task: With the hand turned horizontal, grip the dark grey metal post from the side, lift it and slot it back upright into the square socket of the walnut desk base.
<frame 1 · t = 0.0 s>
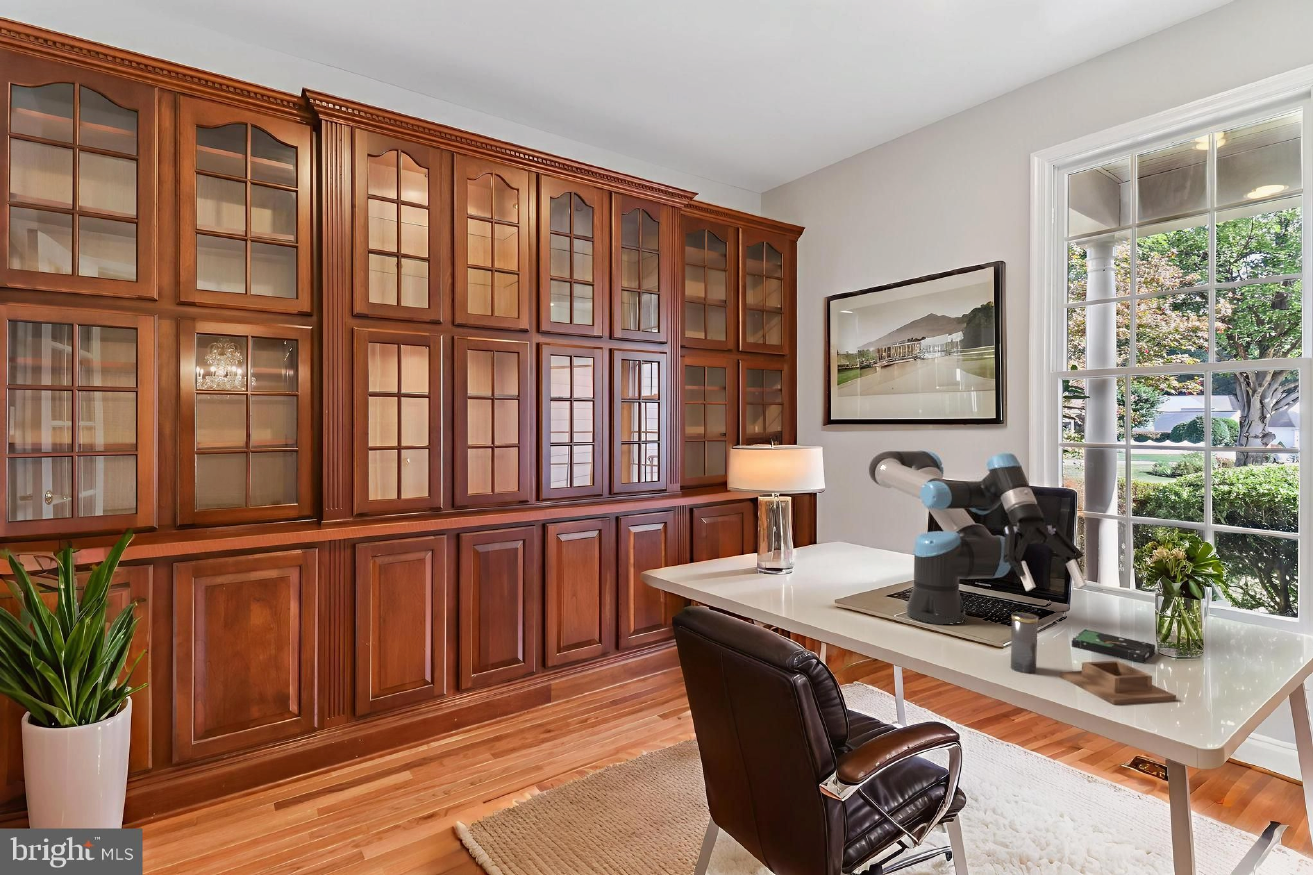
hand: (1056, 588, 160), 15 cm above the table, tool tilted 35°, fingers open, 13 cm apart
socket base: (1115, 687, 139), on the table
grey post: (1023, 669, 149), on the table
disk drive: (1112, 652, 161), on the table
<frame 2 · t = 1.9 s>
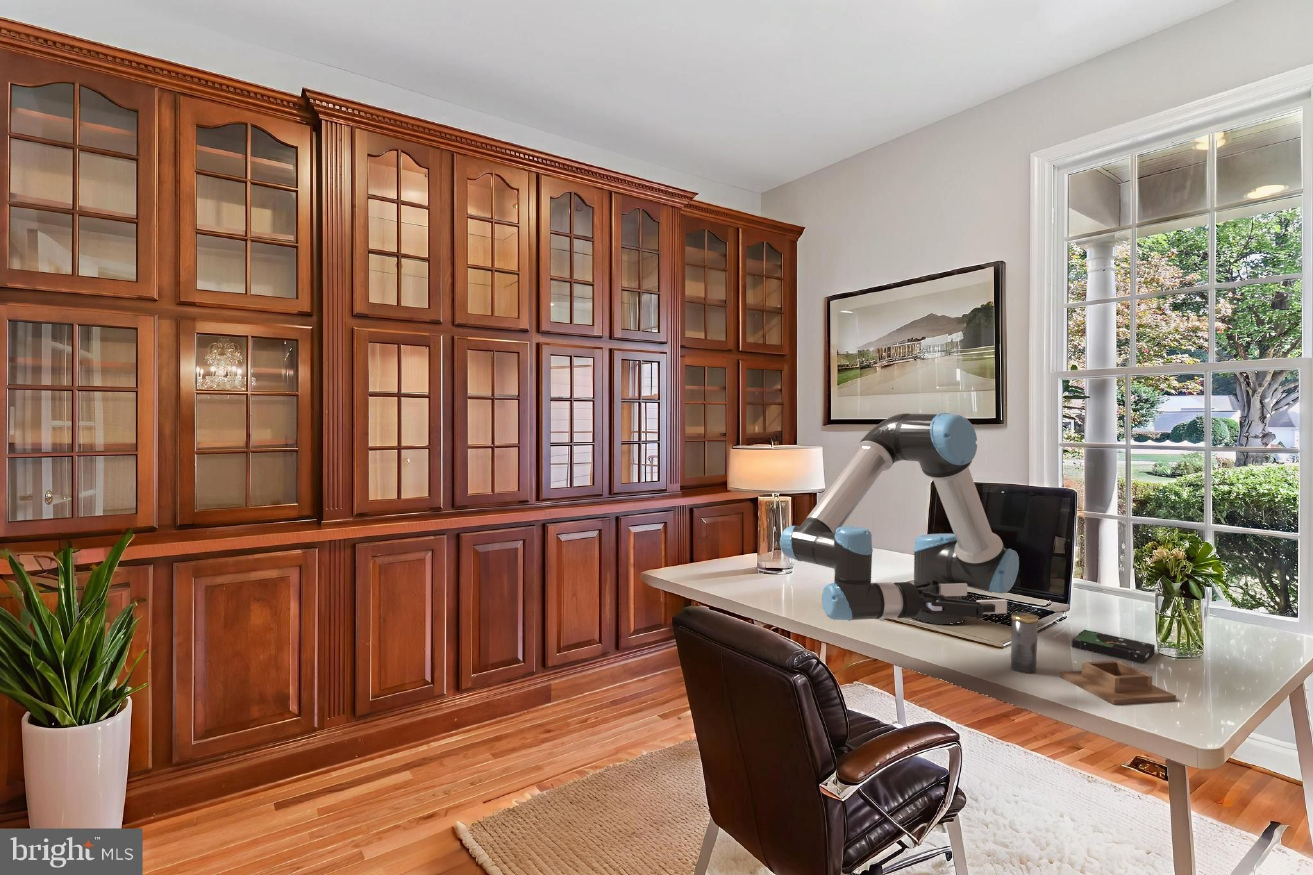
hand: (985, 597, 147), 17 cm above the table, tool horizontal, fingers open, 13 cm apart
nothing on the table moved.
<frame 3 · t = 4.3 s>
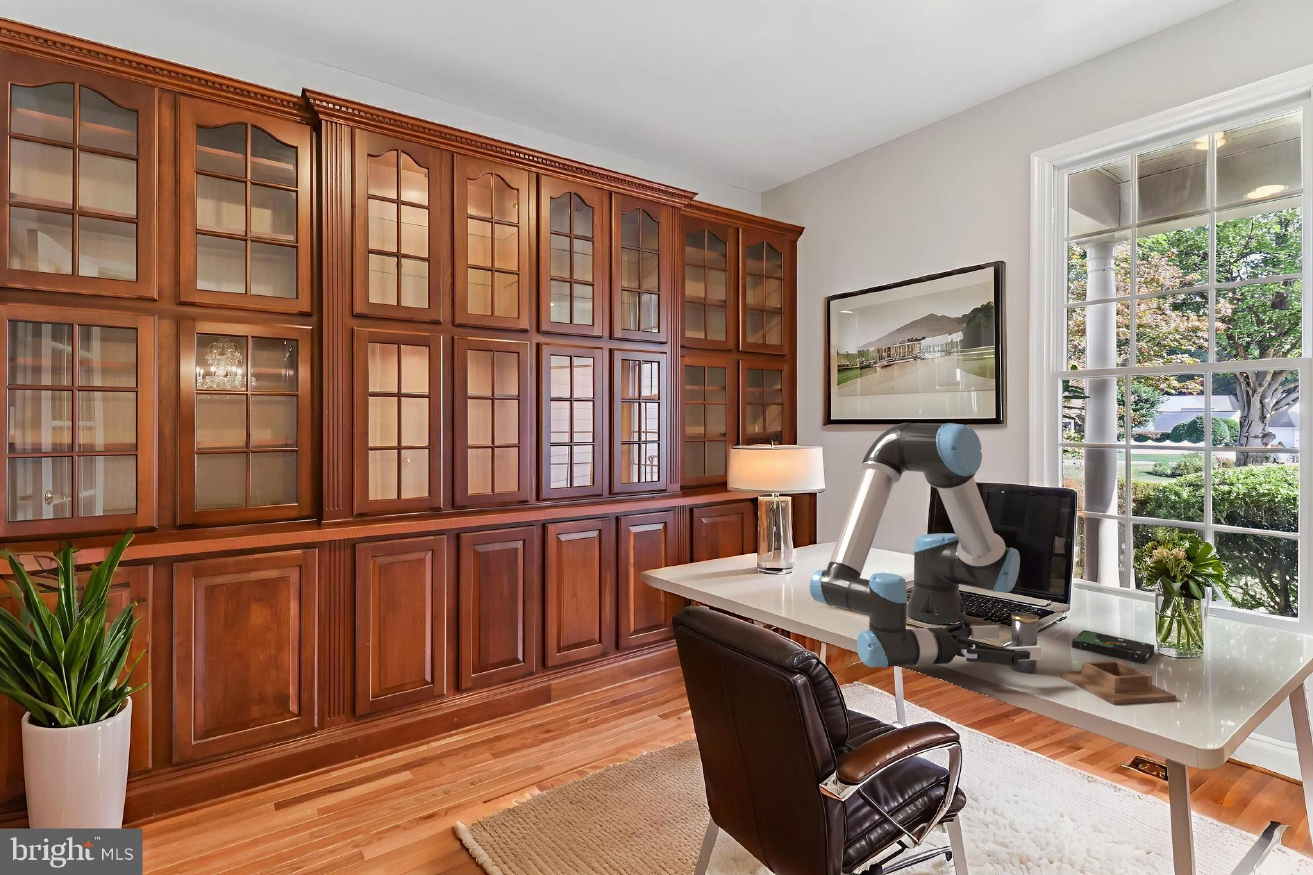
hand: (1018, 641, 148), 6 cm above the table, tool horizontal, fingers open, 13 cm apart
nothing on the table moved.
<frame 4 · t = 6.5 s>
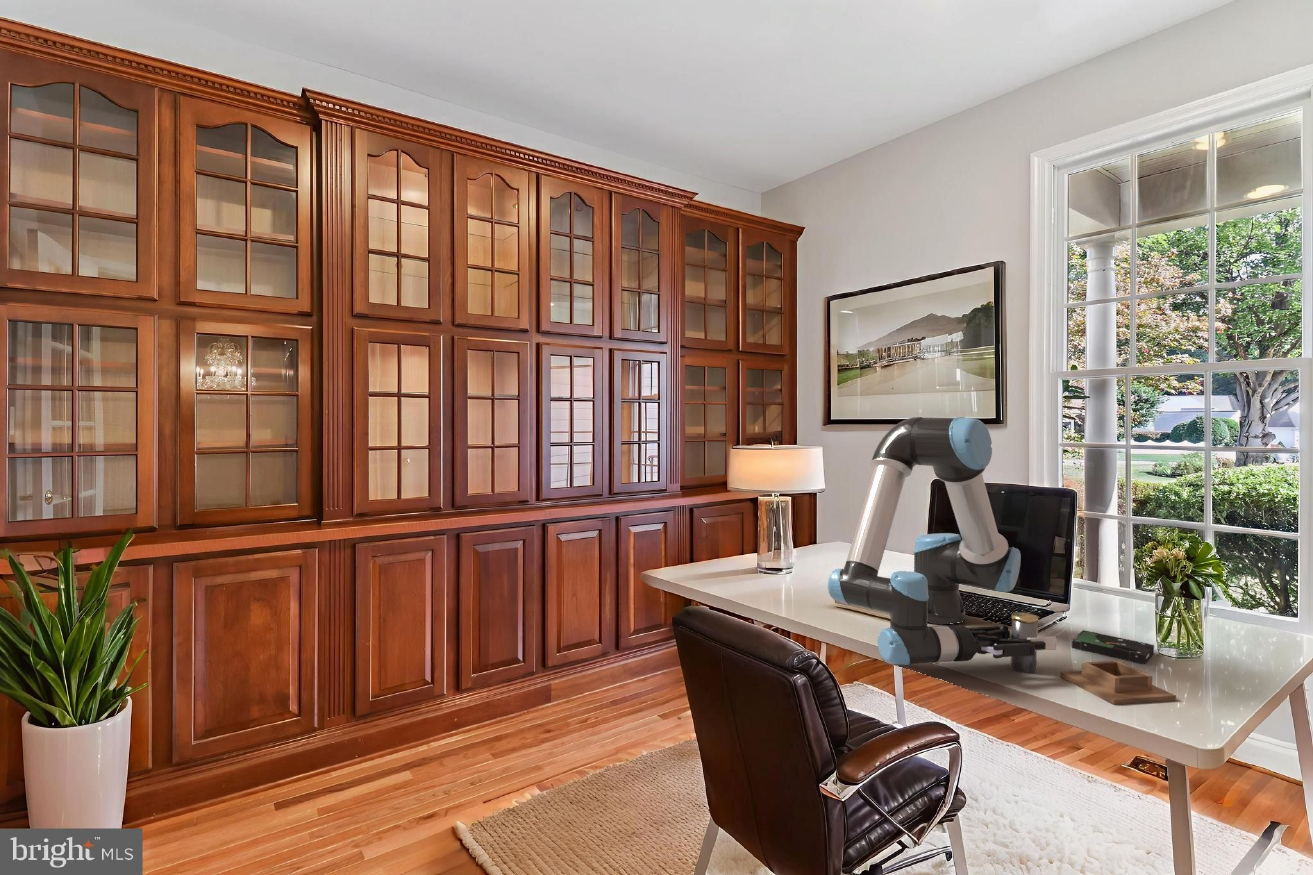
hand: (1045, 638, 149), 7 cm above the table, tool horizontal, fingers closed on grey post, 5 cm apart
grey post: (1023, 669, 149), on the table, touching gripper
everything else where it was.
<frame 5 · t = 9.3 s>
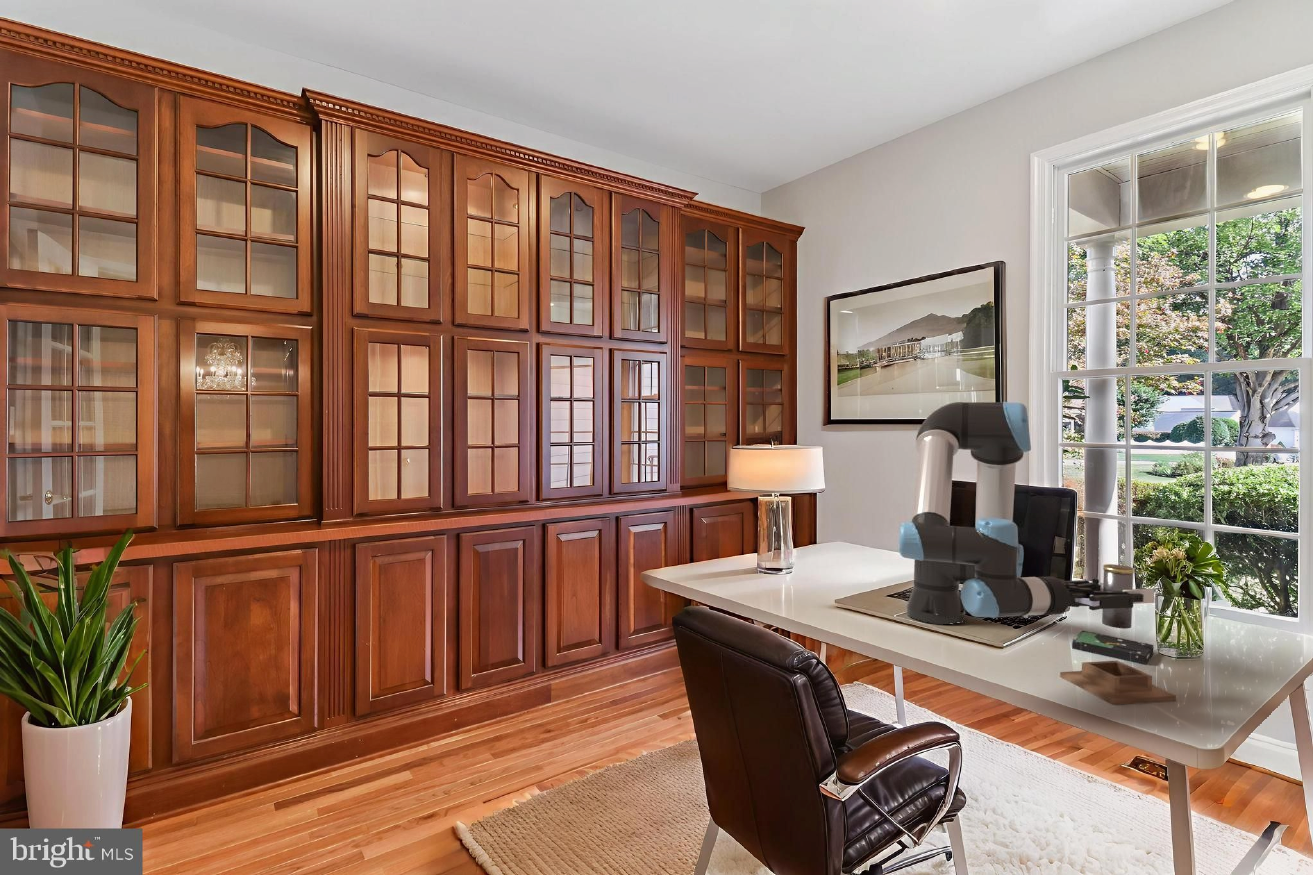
hand: (1140, 592, 139), 20 cm above the table, tool horizontal, fingers closed on grey post, 5 cm apart
grey post: (1116, 624, 138), point 13 cm above the table, touching gripper
everything else where it was.
when the fingers open (9 cm above the table, at t = 12.0 s): grey post drops 1 cm, resting on socket base.
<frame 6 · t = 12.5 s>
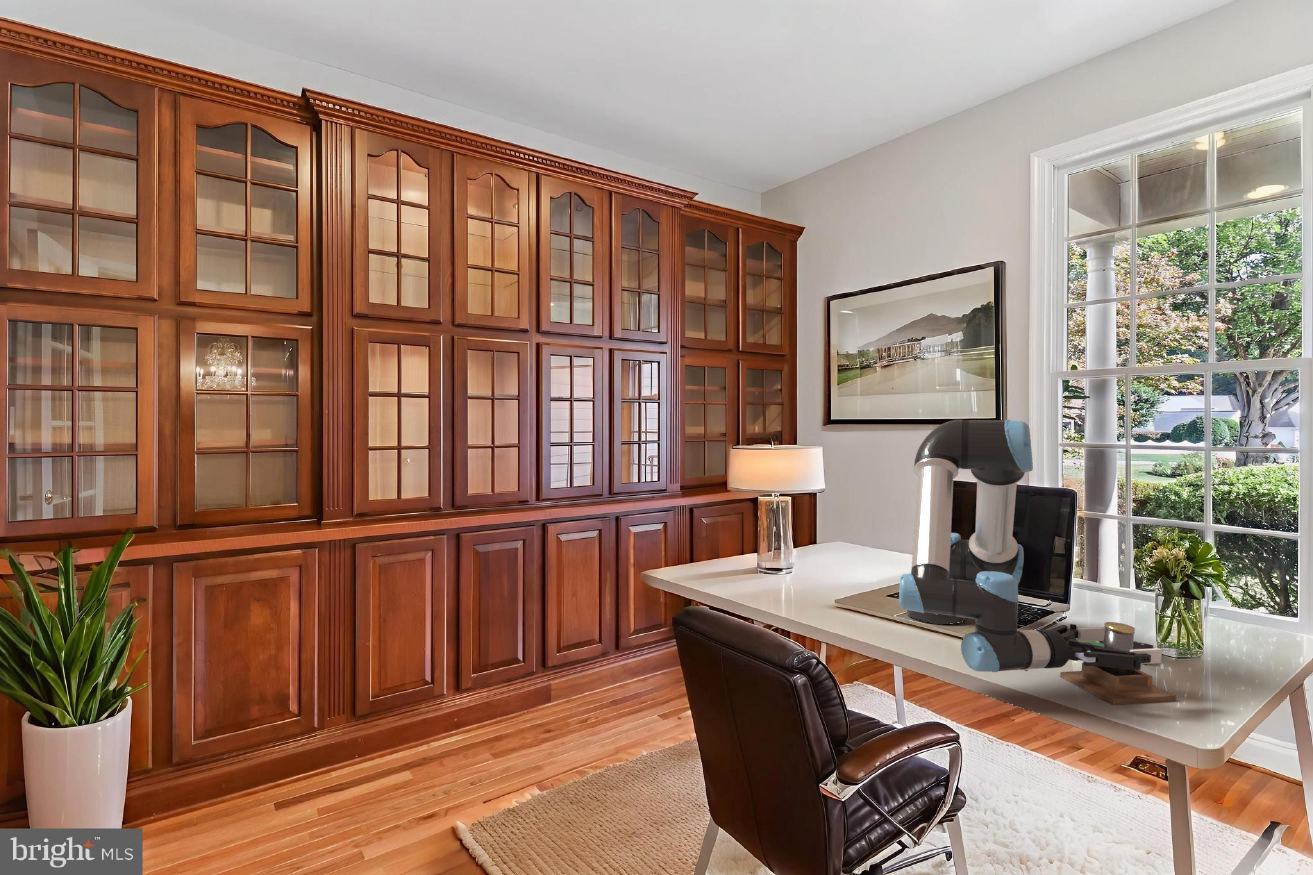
hand: (1131, 644, 139), 9 cm above the table, tool horizontal, fingers open, 12 cm apart
grey post: (1115, 682, 139), point 1 cm above the table, touching socket base
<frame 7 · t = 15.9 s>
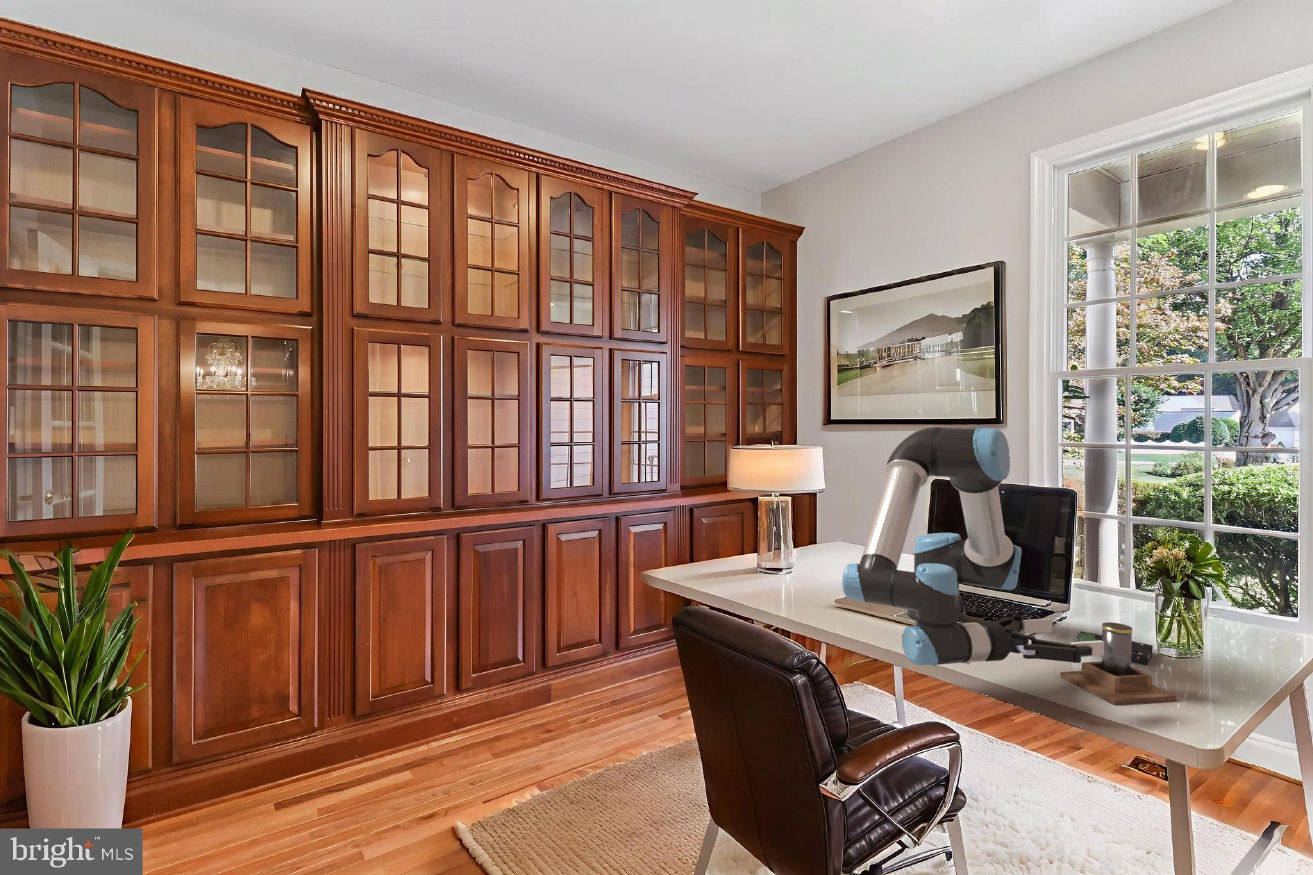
hand: (1075, 635, 137), 11 cm above the table, tool horizontal, fingers open, 13 cm apart
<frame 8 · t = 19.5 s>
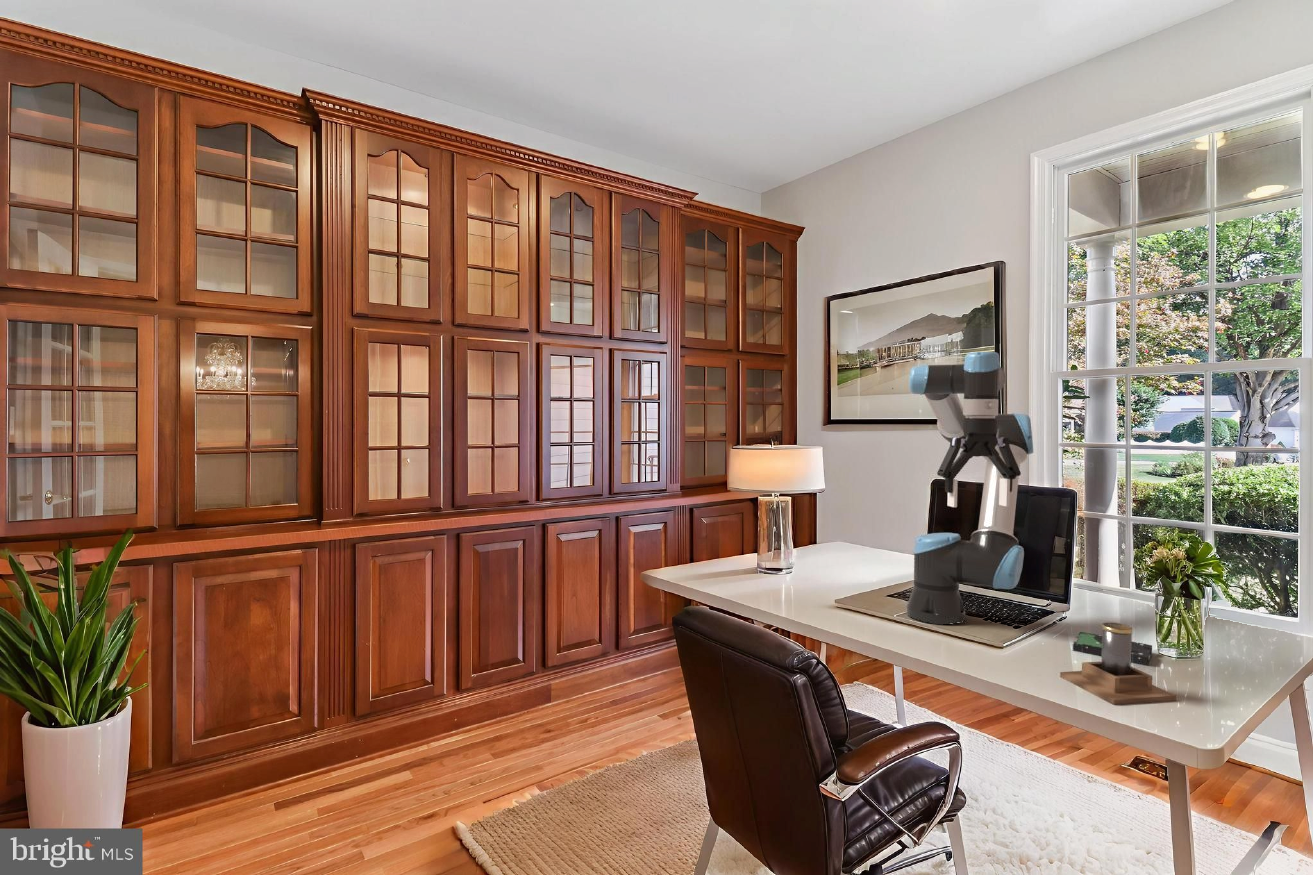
hand: (978, 506, 160), 35 cm above the table, tool pointing down, fingers open, 13 cm apart
at the end: grey post 0.1 cm off-centre on the socket base, point 1.0 cm above the socket base's base; grey post tilted 0°; the gripper is holding nothing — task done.
